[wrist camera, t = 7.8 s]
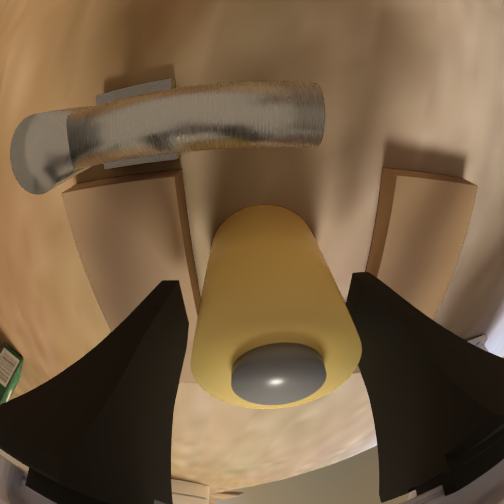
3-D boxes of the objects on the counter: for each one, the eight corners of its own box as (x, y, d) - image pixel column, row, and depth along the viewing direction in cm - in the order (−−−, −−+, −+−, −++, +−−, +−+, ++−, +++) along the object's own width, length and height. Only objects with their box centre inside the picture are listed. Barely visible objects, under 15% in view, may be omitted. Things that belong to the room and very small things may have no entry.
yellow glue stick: (319, 203, 11) (389, 312, 5) (309, 292, 13) (343, 410, 7) (206, 206, 11) (169, 325, 5) (216, 296, 13) (204, 419, 7)
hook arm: (278, 73, 8) (326, 27, 3) (280, 150, 9) (324, 208, 4) (103, 95, 8) (-13, 108, 3) (111, 165, 9) (10, 232, 4)
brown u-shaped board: (462, 178, 10) (477, 186, 9) (404, 348, 16) (411, 361, 15) (76, 184, 10) (61, 193, 9) (141, 364, 16) (137, 378, 15)
